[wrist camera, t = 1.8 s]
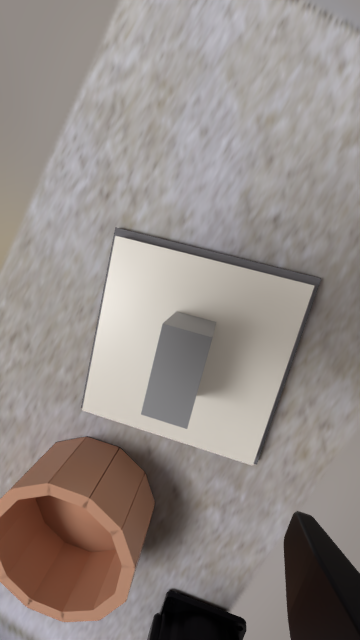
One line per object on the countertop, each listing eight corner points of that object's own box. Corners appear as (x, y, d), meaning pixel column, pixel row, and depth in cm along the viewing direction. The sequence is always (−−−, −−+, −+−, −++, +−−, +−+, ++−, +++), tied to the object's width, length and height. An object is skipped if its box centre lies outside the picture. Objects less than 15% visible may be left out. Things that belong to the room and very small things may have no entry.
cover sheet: (309, 284, 18) (340, 291, 13) (251, 456, 20) (258, 515, 15) (121, 237, 19) (84, 227, 14) (88, 403, 22) (47, 444, 17)
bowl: (166, 462, 22) (148, 518, 17) (137, 567, 24) (114, 643, 19) (43, 422, 23) (-7, 463, 18) (26, 525, 25) (-22, 587, 20)
